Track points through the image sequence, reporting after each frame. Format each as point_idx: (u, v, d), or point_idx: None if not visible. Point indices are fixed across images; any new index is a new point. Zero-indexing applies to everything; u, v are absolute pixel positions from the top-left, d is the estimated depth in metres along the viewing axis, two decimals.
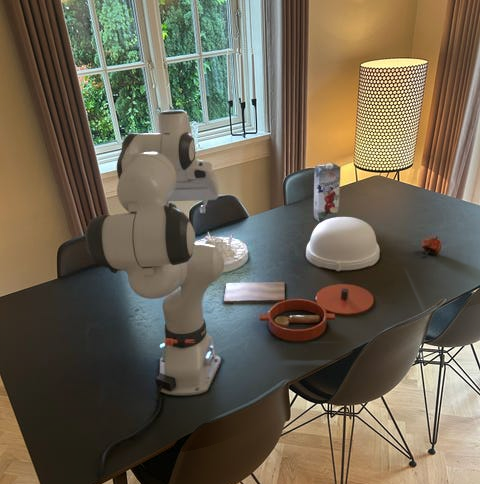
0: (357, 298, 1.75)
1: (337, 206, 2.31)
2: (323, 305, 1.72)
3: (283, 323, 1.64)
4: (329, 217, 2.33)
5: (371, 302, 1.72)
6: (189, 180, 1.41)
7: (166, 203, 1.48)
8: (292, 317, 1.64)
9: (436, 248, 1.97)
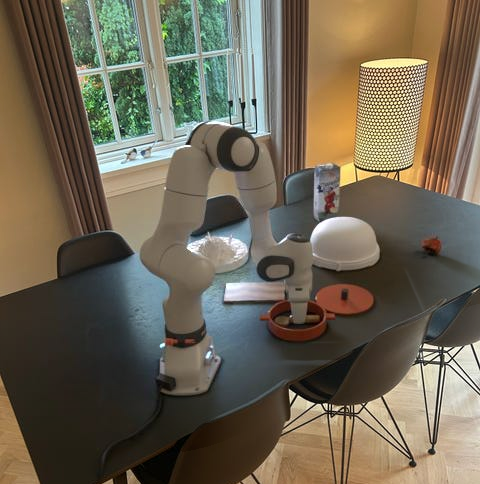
0: (357, 298, 1.75)
1: (337, 206, 2.31)
2: (323, 305, 1.72)
3: (283, 323, 1.64)
4: (329, 217, 2.33)
5: (371, 302, 1.72)
6: None
7: None
8: None
9: (436, 248, 1.97)
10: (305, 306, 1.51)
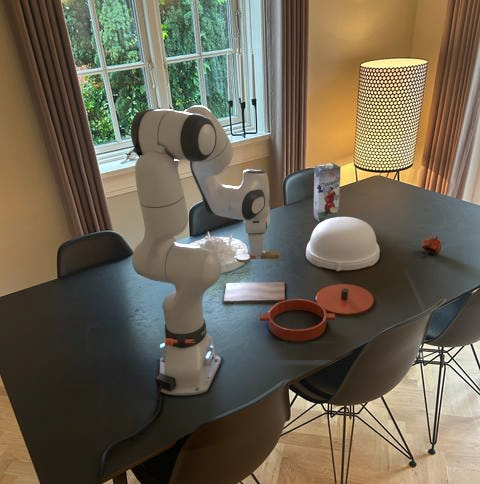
0: (357, 298, 1.75)
1: (337, 206, 2.31)
2: (323, 305, 1.72)
3: (244, 259, 1.71)
4: (329, 217, 2.33)
5: (371, 302, 1.72)
6: None
7: None
8: None
9: (436, 248, 1.97)
10: (262, 237, 1.58)
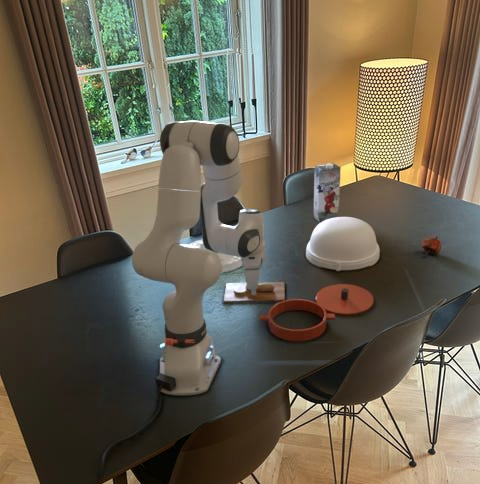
0: (357, 298, 1.75)
1: (337, 206, 2.31)
2: (323, 305, 1.72)
3: (241, 291, 1.82)
4: (329, 217, 2.33)
5: (371, 302, 1.72)
6: None
7: None
8: None
9: (436, 248, 1.97)
10: (257, 273, 1.69)
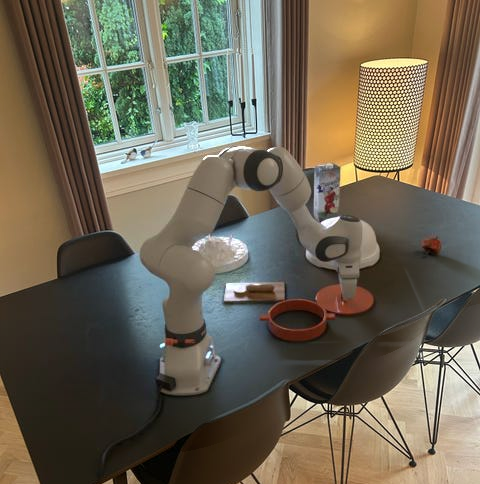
0: (357, 298, 1.75)
1: (337, 206, 2.31)
2: (323, 305, 1.72)
3: (241, 291, 1.82)
4: (329, 217, 2.33)
5: (371, 302, 1.72)
6: None
7: None
8: (249, 286, 1.82)
9: (436, 248, 1.97)
10: (355, 282, 1.61)
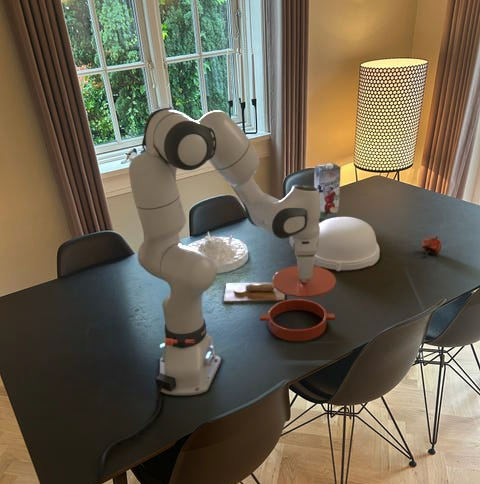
0: (318, 280, 1.57)
1: (337, 206, 2.31)
2: (279, 287, 1.55)
3: (241, 291, 1.82)
4: (329, 217, 2.33)
5: (333, 284, 1.54)
6: None
7: None
8: (249, 286, 1.82)
9: (436, 248, 1.97)
10: (312, 260, 1.44)
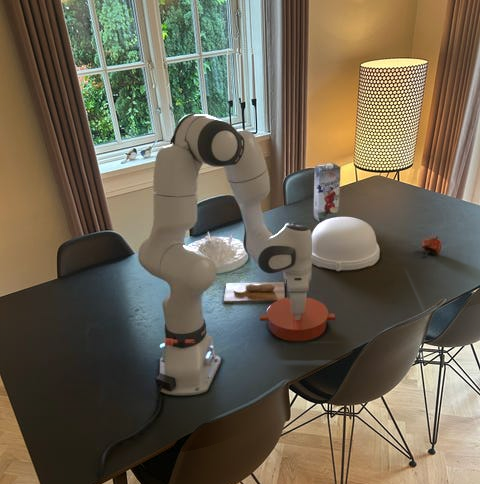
0: (311, 313, 1.62)
1: (337, 206, 2.31)
2: (273, 320, 1.59)
3: (241, 291, 1.82)
4: (329, 217, 2.33)
5: (325, 317, 1.59)
6: None
7: None
8: (249, 286, 1.82)
9: (436, 248, 1.97)
10: (304, 296, 1.48)
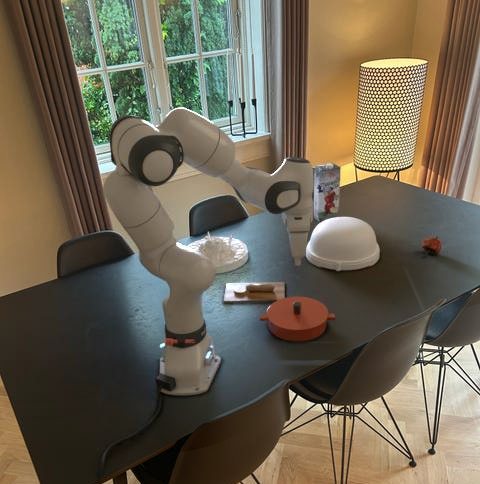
0: (311, 313, 1.62)
1: (337, 206, 2.31)
2: (273, 320, 1.59)
3: (241, 291, 1.82)
4: (329, 217, 2.33)
5: (325, 317, 1.59)
6: None
7: None
8: (249, 286, 1.82)
9: (436, 248, 1.97)
10: (305, 236, 1.38)
